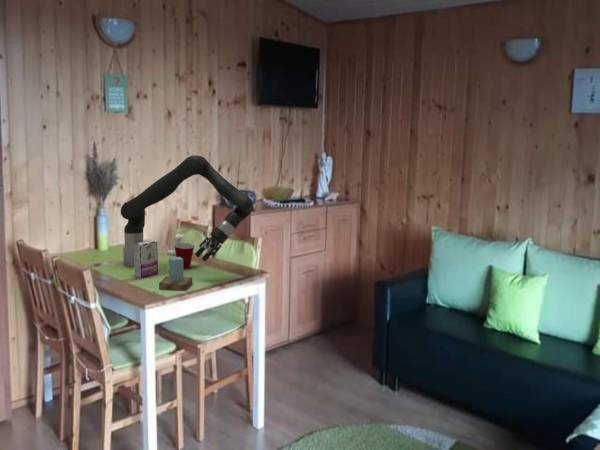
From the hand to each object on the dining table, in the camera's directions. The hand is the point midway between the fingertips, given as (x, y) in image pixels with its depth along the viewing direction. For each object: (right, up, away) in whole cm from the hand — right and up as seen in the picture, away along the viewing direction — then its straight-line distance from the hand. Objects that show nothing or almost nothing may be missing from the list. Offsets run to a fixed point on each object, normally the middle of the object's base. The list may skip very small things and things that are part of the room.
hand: (199, 258), depth 276 cm
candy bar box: (-28, -9, +13) cm, 32 cm away
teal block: (-10, -10, -5) cm, 15 cm away
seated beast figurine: (-22, -1, +58) cm, 62 cm away
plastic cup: (-13, -7, +30) cm, 33 cm away
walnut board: (-10, -13, -4) cm, 17 cm away
